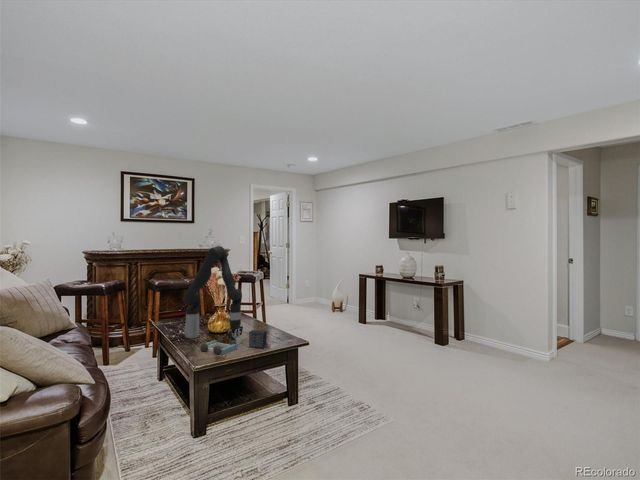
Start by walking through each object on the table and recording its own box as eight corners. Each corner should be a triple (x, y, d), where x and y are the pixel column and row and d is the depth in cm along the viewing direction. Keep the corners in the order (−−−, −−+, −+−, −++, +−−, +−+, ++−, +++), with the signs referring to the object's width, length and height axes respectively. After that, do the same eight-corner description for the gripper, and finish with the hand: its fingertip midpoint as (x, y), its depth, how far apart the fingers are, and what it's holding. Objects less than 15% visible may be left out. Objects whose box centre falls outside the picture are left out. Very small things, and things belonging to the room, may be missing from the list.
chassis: (198, 350, 229) (198, 342, 229) (215, 343, 243) (215, 336, 243) (221, 355, 220) (221, 347, 220) (238, 348, 233) (238, 340, 233)
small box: (267, 345, 239) (267, 330, 239) (263, 348, 233) (263, 333, 233) (252, 344, 242) (252, 329, 242) (248, 347, 235) (248, 332, 235)
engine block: (229, 343, 243) (229, 336, 243) (234, 341, 247) (234, 334, 247) (236, 345, 241) (236, 337, 241) (240, 343, 245) (240, 336, 245)
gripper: (238, 315, 252) (237, 339, 252) (223, 319, 239) (223, 345, 239) (246, 316, 248) (246, 341, 249) (232, 321, 236) (232, 346, 236)
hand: (235, 342), depth 244 cm, fingers closed on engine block, 4 cm apart
